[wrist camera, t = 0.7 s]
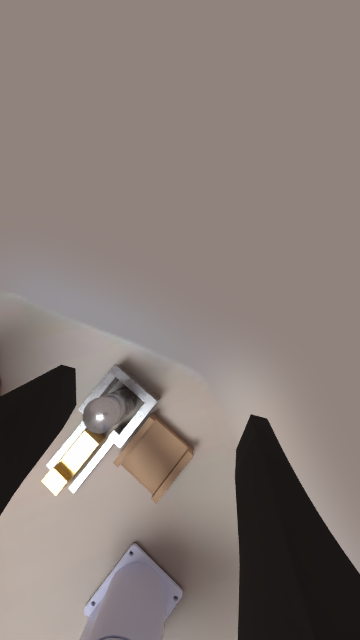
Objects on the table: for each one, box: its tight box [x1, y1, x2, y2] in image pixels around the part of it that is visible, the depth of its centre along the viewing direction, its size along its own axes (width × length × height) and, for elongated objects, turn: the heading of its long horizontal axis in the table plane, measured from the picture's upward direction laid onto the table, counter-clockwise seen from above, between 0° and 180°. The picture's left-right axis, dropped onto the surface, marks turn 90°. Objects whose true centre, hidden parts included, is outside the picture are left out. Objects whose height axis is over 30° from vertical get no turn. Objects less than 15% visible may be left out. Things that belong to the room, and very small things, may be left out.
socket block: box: [46, 364, 160, 493], centre depth 33 cm, size 16×7×2 cm, turn 141°
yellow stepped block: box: [42, 429, 105, 496], centre depth 32 cm, size 7×2×4 cm, turn 141°
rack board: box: [113, 413, 193, 504], centre depth 32 cm, size 7×7×2 cm
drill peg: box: [83, 389, 136, 433], centre depth 30 cm, size 4×4×8 cm
